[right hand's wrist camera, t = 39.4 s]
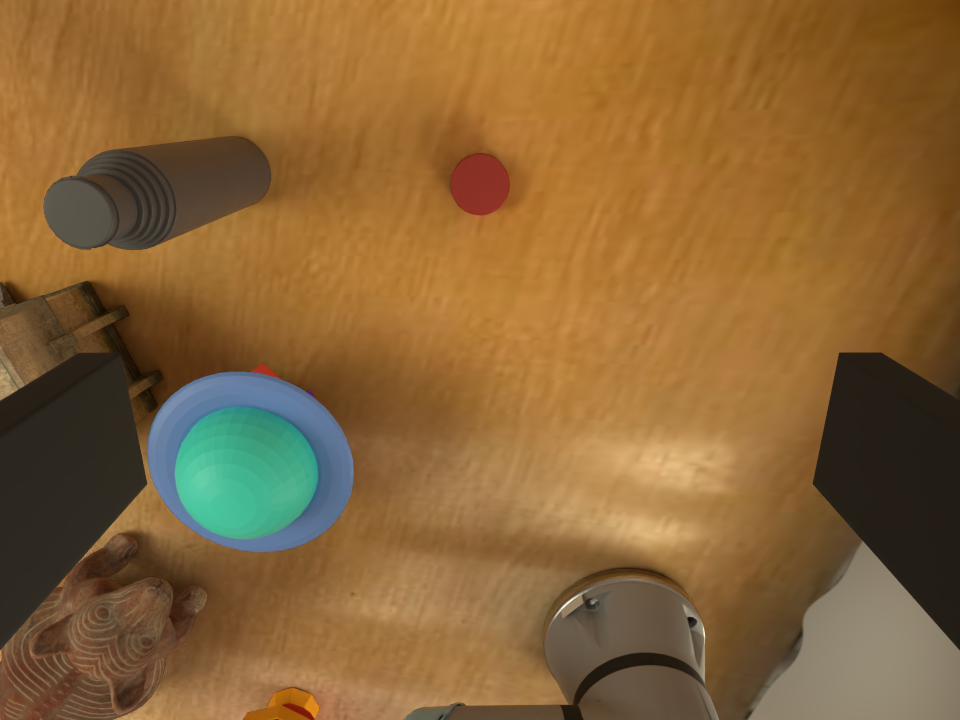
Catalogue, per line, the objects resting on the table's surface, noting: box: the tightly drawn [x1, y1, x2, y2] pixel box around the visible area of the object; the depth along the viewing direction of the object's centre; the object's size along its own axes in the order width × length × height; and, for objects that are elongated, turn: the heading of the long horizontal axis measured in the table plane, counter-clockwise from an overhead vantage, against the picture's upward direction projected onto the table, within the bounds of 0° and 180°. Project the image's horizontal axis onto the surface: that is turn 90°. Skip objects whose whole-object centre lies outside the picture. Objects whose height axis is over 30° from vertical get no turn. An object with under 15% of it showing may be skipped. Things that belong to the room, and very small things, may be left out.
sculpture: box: [0, 533, 207, 720], centre depth 56 cm, size 14×25×15 cm, turn 140°
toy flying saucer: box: [147, 363, 354, 552], centre depth 51 cm, size 15×15×14 cm
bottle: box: [43, 136, 271, 250], centre depth 40 cm, size 5×5×21 cm
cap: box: [451, 154, 509, 215], centre depth 50 cm, size 4×4×2 cm
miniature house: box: [0, 281, 163, 424], centre depth 50 cm, size 15×14×11 cm
